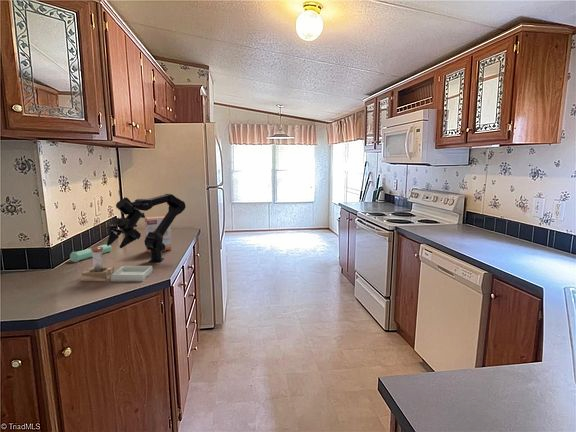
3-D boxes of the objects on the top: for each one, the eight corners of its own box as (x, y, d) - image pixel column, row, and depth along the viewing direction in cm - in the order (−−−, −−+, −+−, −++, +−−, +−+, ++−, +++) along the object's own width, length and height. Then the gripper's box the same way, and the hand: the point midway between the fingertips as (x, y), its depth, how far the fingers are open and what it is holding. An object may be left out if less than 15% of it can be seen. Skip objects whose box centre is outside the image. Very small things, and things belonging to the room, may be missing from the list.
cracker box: (148, 253, 207) (146, 218, 204) (145, 251, 212) (144, 217, 209) (172, 250, 215) (170, 216, 212) (168, 248, 220) (167, 215, 217)
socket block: (92, 273, 168) (92, 266, 167) (114, 273, 168) (114, 266, 168) (82, 280, 158) (81, 273, 157) (105, 280, 159) (104, 273, 158)
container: (107, 241, 211) (71, 250, 187) (114, 245, 210) (79, 255, 186) (104, 249, 212) (68, 259, 188) (112, 254, 211) (76, 264, 187)
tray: (123, 271, 172) (123, 265, 171) (152, 271, 173) (152, 265, 172) (111, 281, 158) (110, 274, 157) (143, 281, 159) (142, 274, 158)
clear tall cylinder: (95, 275, 165) (94, 246, 163) (106, 275, 166) (104, 246, 164) (91, 279, 161) (88, 249, 159) (101, 278, 161) (99, 249, 159)
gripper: (107, 209, 174) (88, 235, 166) (133, 212, 165) (114, 239, 158) (123, 222, 182) (105, 247, 175) (148, 225, 174) (131, 252, 166)
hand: (113, 246), depth 168 cm, fingers open, 9 cm apart
